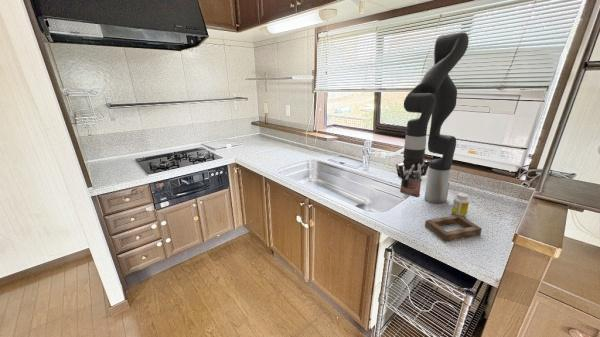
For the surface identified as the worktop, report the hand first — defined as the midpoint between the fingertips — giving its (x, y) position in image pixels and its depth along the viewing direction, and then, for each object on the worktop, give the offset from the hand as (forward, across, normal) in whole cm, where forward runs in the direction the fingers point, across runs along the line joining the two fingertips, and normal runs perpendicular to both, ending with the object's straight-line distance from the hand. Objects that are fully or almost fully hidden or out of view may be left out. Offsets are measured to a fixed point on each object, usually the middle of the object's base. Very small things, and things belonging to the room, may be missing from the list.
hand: (410, 186), depth 100 cm
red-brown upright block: (+4, 0, 0) cm, 4 cm away
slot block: (+17, -13, +11) cm, 24 cm away
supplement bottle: (+17, -25, +2) cm, 30 cm away
